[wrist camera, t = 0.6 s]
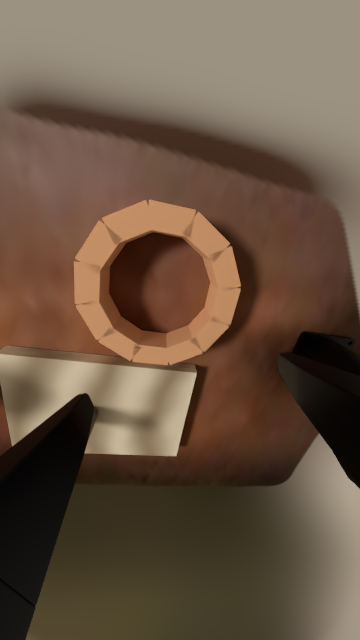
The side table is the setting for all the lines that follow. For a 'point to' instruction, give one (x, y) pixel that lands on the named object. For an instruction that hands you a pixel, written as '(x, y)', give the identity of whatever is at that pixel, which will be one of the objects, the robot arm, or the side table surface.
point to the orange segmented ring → (104, 313)
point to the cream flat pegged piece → (99, 397)
